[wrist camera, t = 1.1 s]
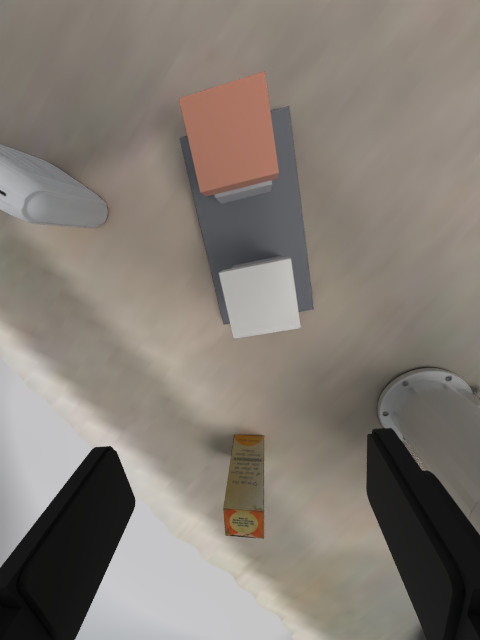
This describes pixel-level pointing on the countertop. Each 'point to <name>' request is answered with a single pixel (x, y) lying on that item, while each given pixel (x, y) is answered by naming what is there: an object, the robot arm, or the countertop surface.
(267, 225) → the block
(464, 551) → the robot arm
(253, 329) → the white plunger
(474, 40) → the countertop surface
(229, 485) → the shoe polish box
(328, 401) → the countertop surface
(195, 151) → the salmon pink block
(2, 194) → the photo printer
